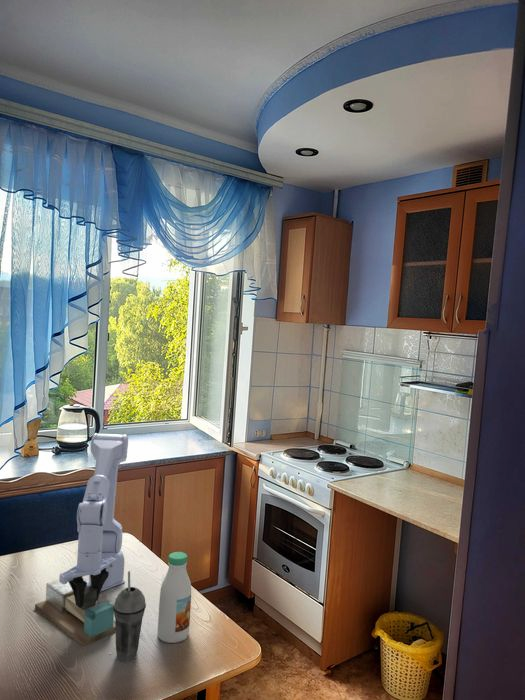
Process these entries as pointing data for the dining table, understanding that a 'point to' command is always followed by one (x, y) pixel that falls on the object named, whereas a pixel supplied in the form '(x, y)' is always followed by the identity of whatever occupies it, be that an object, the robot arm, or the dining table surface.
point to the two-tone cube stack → (88, 602)
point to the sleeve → (57, 594)
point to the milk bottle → (175, 601)
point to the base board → (69, 623)
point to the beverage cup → (128, 621)
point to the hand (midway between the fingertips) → (86, 602)
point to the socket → (98, 619)
